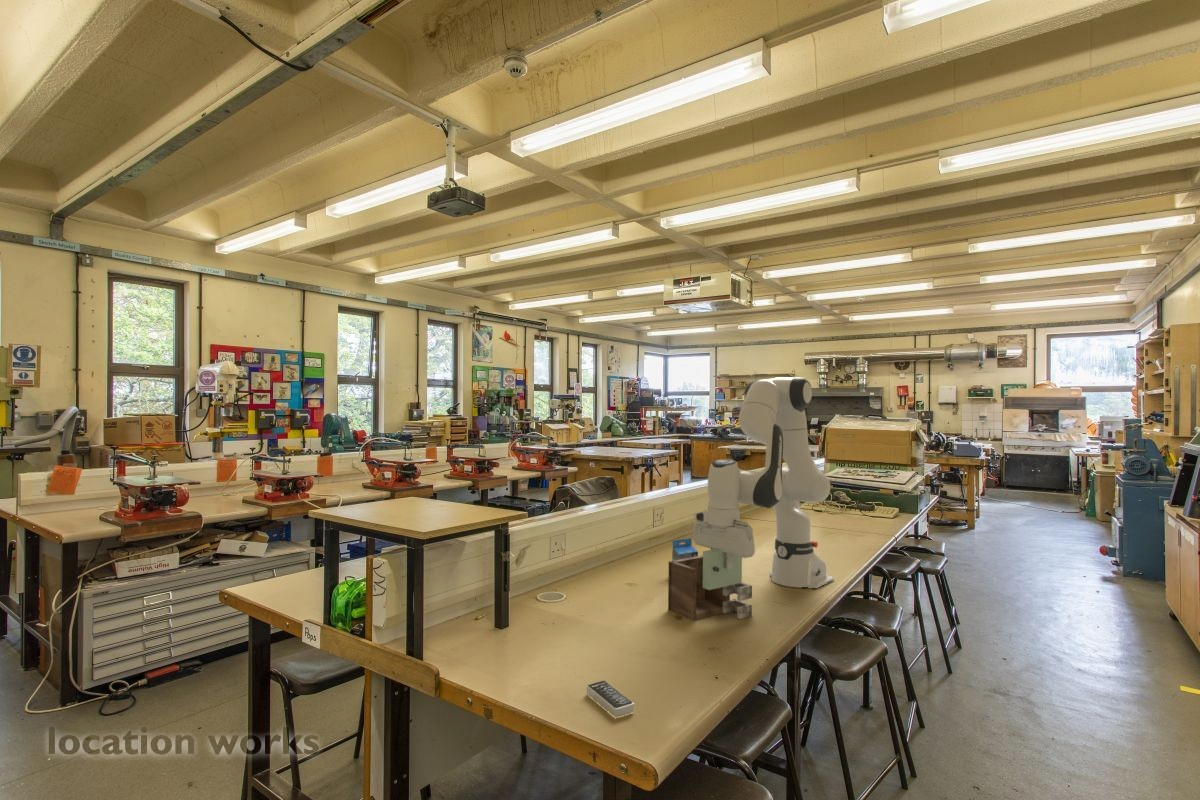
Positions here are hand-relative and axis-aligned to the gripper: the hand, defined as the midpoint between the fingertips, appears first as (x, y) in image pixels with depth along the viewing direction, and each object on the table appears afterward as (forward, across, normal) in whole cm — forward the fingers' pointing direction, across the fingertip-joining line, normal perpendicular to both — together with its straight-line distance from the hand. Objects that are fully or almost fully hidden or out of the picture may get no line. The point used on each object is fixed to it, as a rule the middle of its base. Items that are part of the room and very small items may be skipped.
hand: (722, 566), depth 160 cm
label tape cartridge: (+14, +37, -20) cm, 45 cm away
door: (+5, 0, 0) cm, 5 cm away
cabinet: (+14, +5, 0) cm, 15 cm away
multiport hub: (+15, -21, +54) cm, 60 cm away
